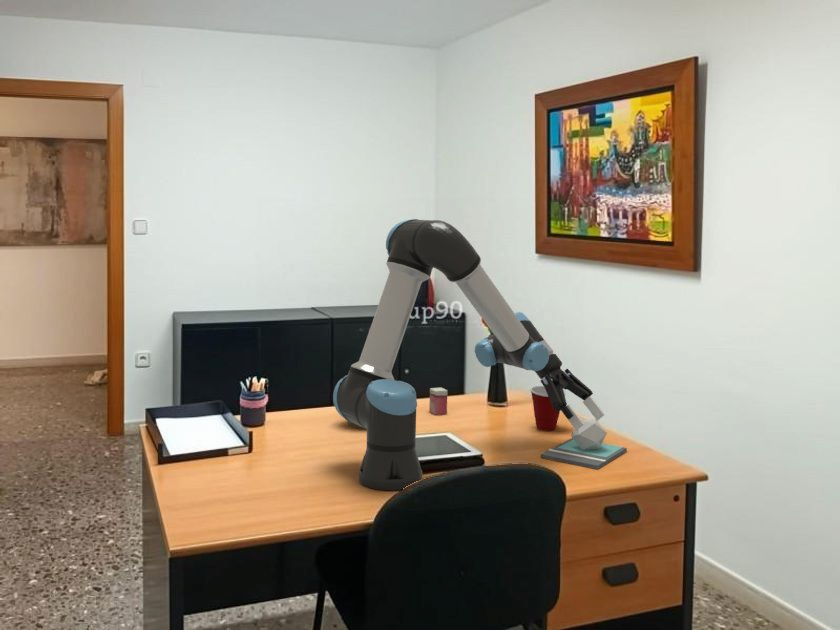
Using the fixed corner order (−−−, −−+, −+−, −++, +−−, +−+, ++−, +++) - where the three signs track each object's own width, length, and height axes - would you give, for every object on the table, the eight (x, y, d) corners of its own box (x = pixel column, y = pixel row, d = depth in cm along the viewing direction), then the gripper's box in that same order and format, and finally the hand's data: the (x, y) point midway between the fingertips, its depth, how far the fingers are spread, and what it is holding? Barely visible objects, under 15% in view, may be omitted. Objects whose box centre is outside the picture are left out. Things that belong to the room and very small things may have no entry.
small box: (428, 411, 261) (429, 387, 260) (441, 410, 263) (441, 387, 262) (434, 415, 256) (435, 391, 255) (447, 414, 258) (447, 390, 257)
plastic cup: (549, 435, 235) (550, 395, 234) (521, 427, 244) (522, 388, 242) (572, 429, 243) (574, 390, 241) (544, 422, 251) (545, 384, 249)
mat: (597, 469, 204) (597, 465, 204) (540, 457, 213) (540, 453, 213) (626, 451, 221) (626, 447, 220) (572, 441, 230) (572, 437, 230)
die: (602, 457, 214) (615, 425, 217) (574, 441, 213) (588, 409, 216) (589, 459, 221) (602, 428, 225) (562, 443, 221) (576, 413, 224)
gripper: (554, 362, 237) (599, 421, 230) (512, 375, 217) (561, 439, 210) (572, 347, 233) (618, 406, 227) (531, 358, 213) (581, 423, 207)
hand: (591, 422), depth 218 cm, fingers open, 13 cm apart
